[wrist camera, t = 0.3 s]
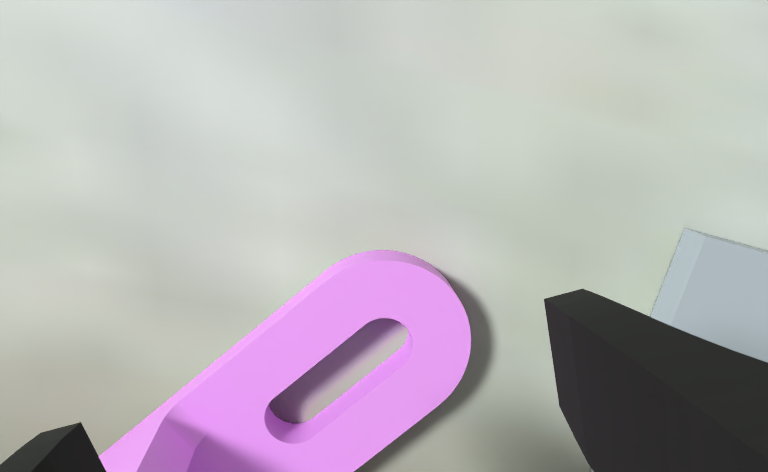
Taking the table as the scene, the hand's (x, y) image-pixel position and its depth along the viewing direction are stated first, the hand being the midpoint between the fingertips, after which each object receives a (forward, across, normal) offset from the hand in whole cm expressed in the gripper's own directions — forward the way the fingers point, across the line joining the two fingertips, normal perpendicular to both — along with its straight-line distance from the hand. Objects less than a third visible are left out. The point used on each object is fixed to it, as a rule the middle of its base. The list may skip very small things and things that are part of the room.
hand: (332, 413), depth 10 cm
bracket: (+10, +2, +6) cm, 12 cm away
